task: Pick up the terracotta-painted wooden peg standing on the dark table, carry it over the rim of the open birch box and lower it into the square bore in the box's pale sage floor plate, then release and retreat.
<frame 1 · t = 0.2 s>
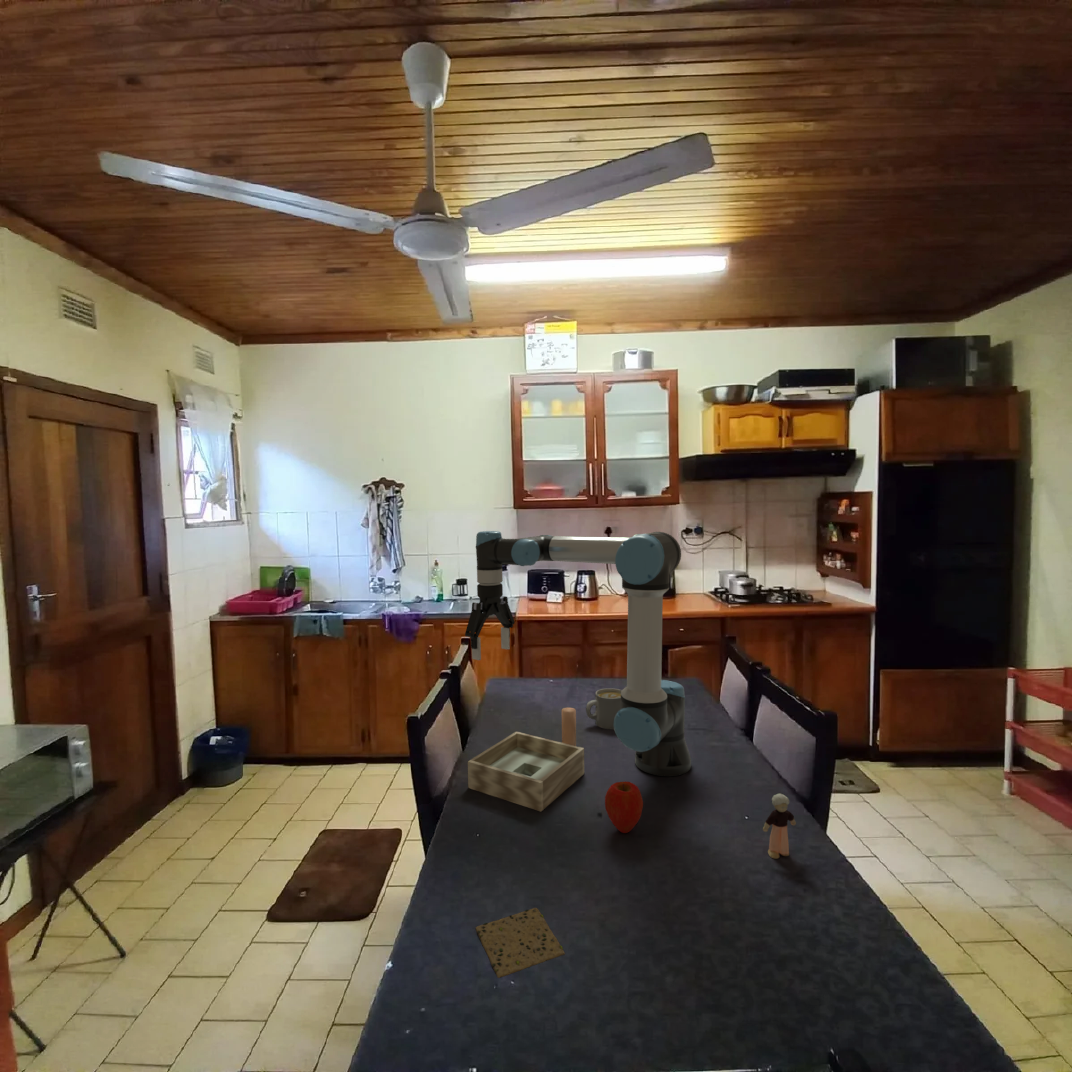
hand: (491, 654, 175), 28 cm above the table, fingers open, 13 cm apart
box: (527, 780, 154), on the table
coffee mug: (605, 724, 191), on the table
peg: (569, 758, 167), on the table
grandmother figurine: (780, 854, 122), on the table
cookie: (518, 944, 99), on the table
apple: (624, 831, 131), on the table
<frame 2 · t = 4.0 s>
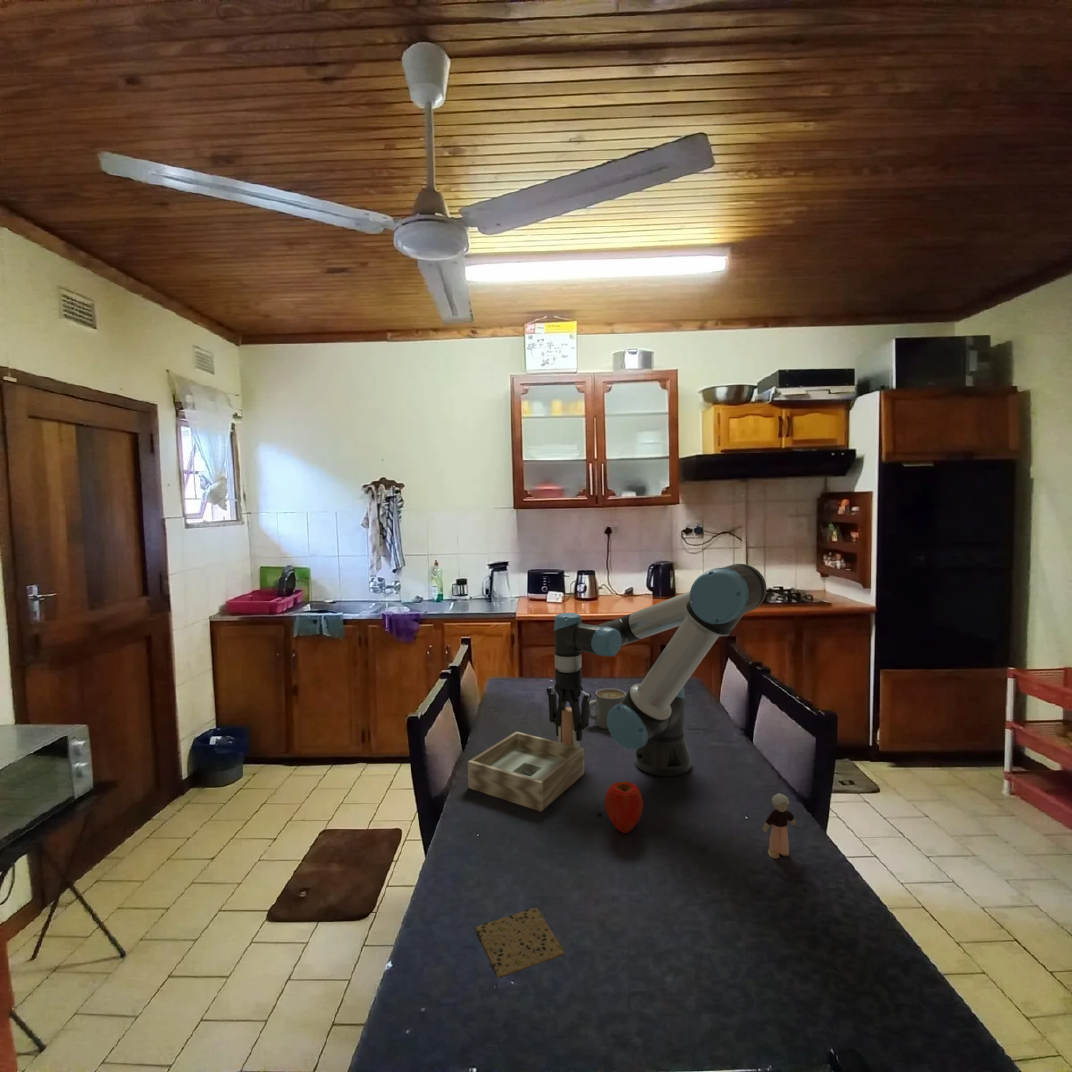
hand: (569, 749, 166), 3 cm above the table, fingers closed on peg, 4 cm apart
peg: (569, 758, 167), on the table, touching gripper
everything else where it was.
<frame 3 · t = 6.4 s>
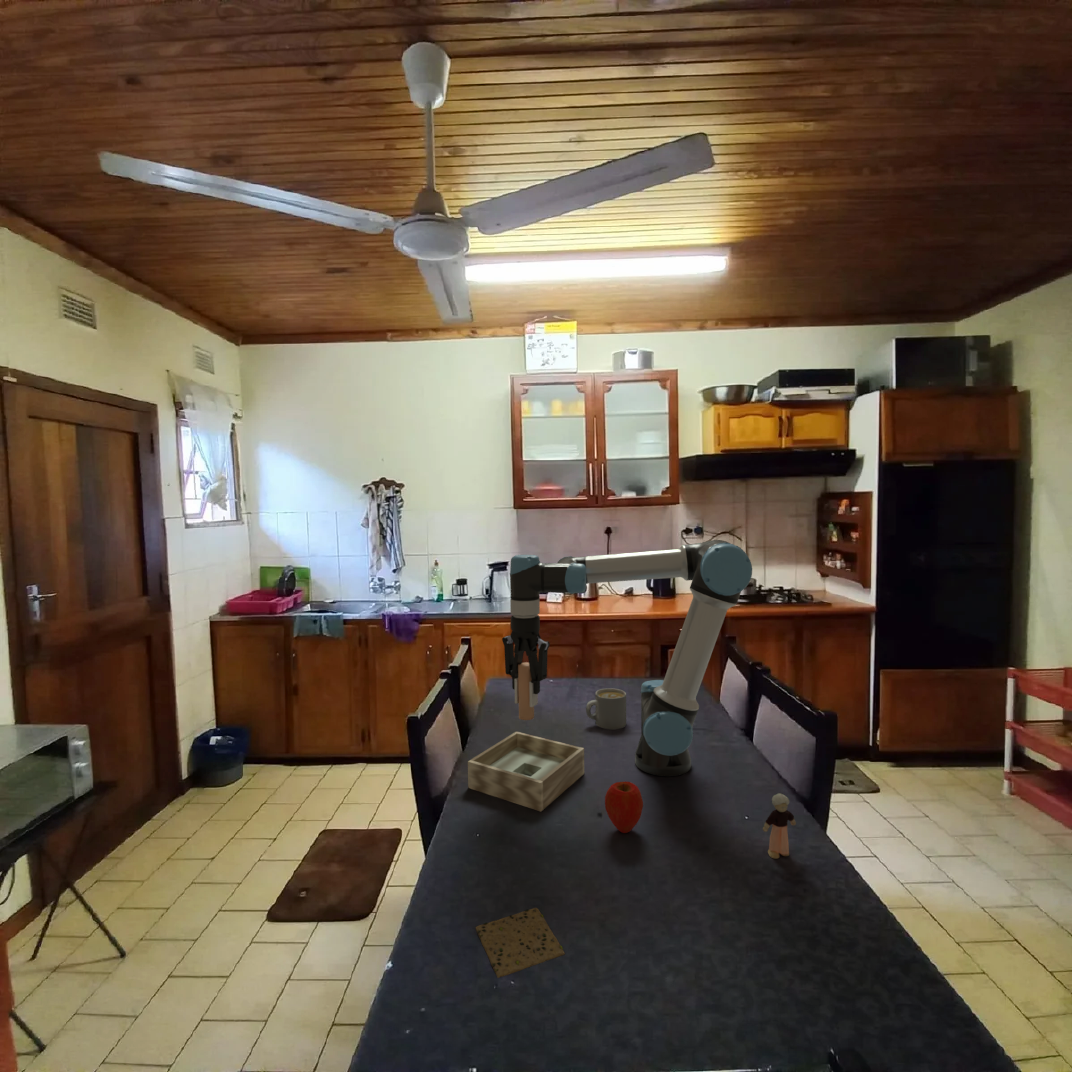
hand: (526, 703, 153), 21 cm above the table, fingers closed on peg, 4 cm apart
peg: (526, 717, 153), point 17 cm above the table, touching gripper
everything else where it was.
when the fingers open (4 cm above the table, at t = 9.2 s): peg stays where it is, resting in box.
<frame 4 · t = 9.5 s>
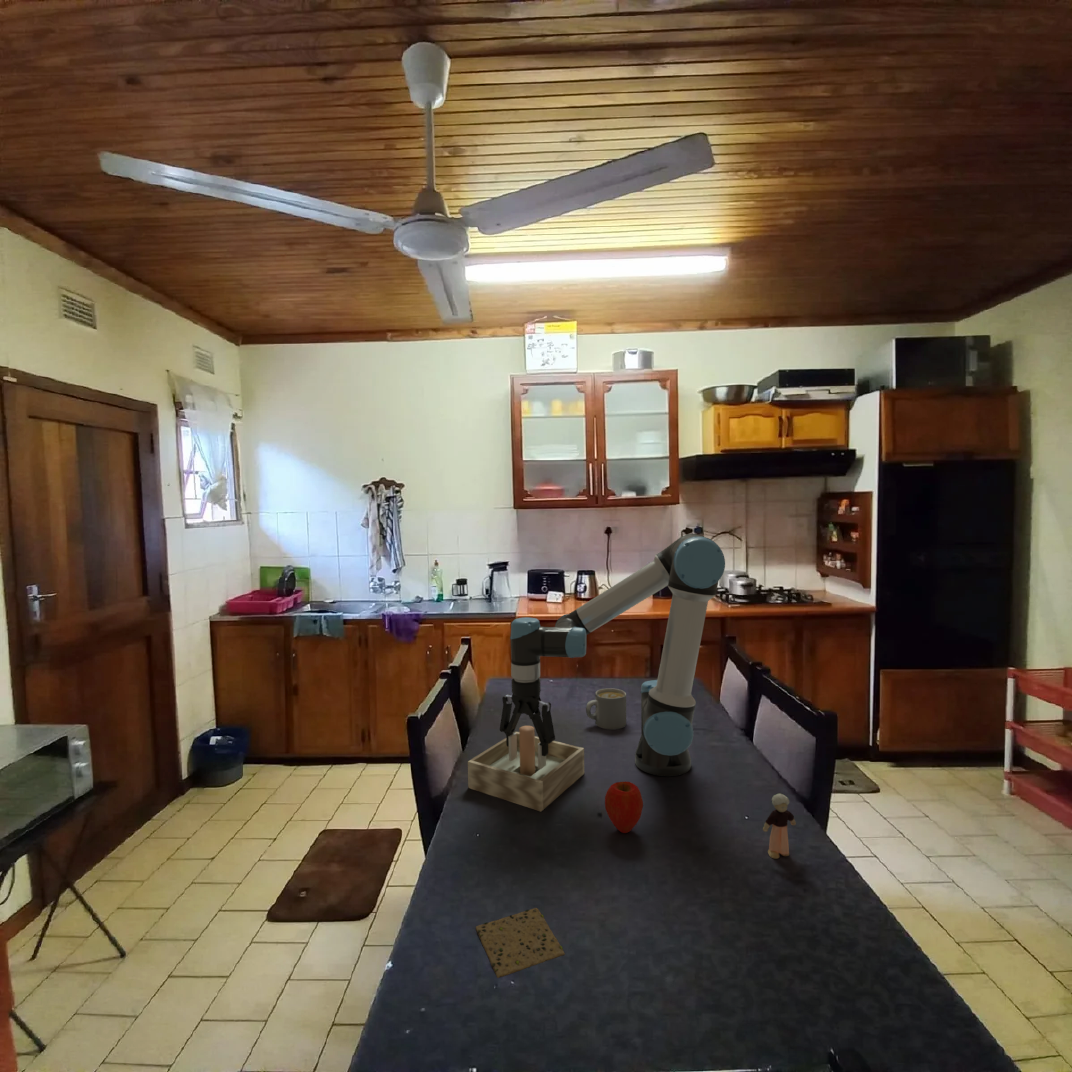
hand: (527, 762, 154), 5 cm above the table, fingers open, 8 cm apart
peg: (527, 780, 154), resting in box
everything else where it was.
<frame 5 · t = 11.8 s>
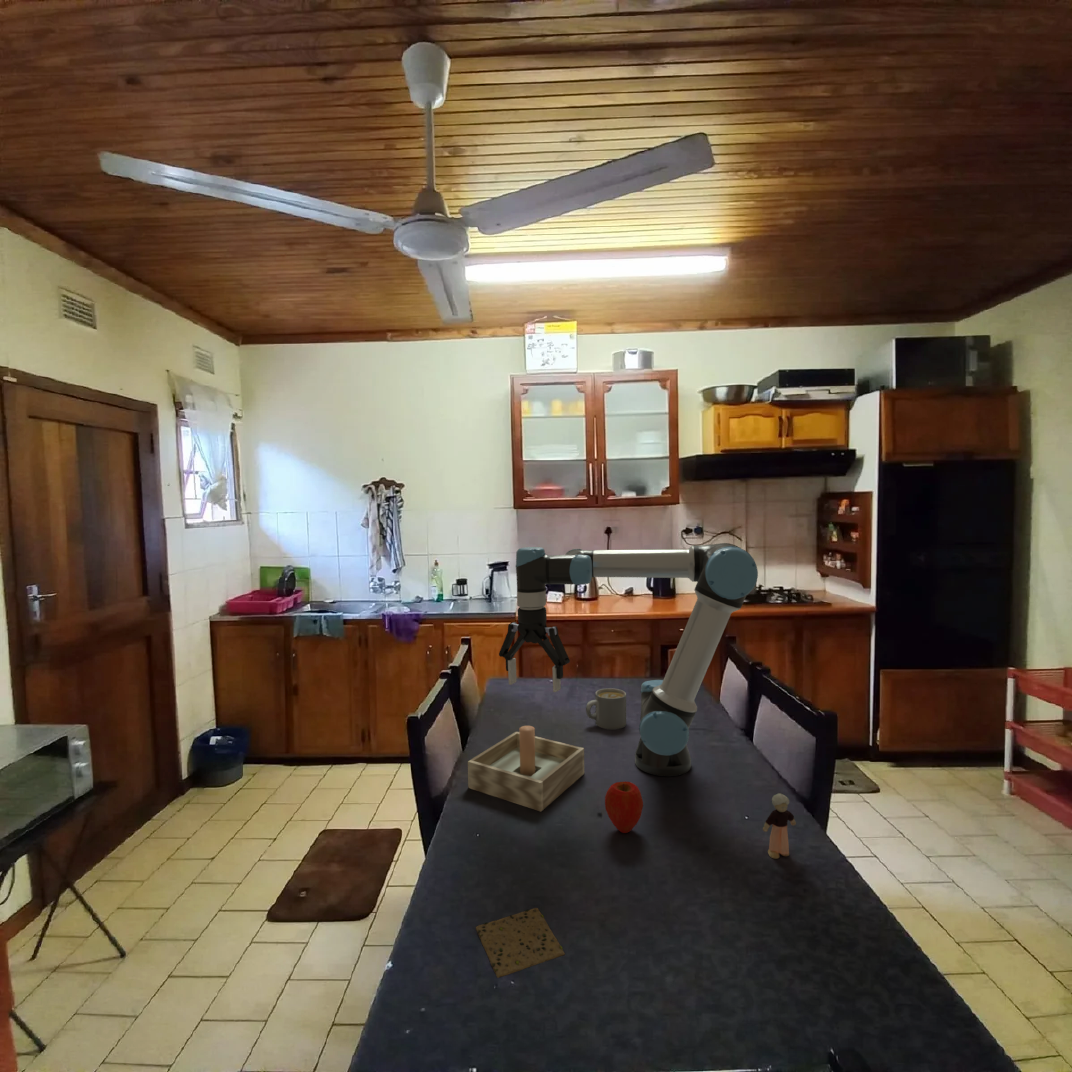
hand: (534, 686, 154), 25 cm above the table, fingers open, 13 cm apart
nothing on the table moved.
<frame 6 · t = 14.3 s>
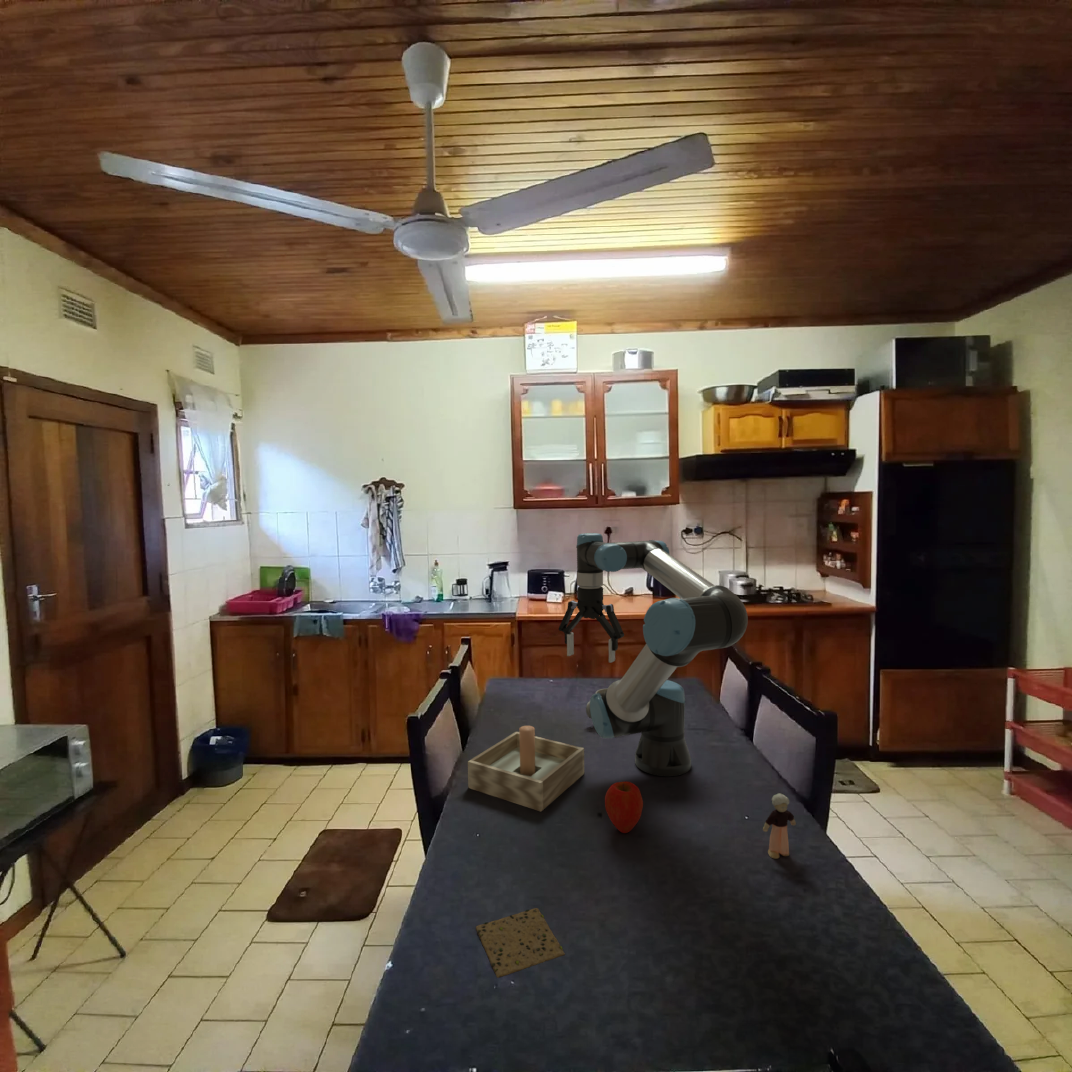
hand: (590, 658, 172), 27 cm above the table, fingers open, 13 cm apart
nothing on the table moved.
at the end: peg 0.1 cm off-centre on the box, point 0.0 cm above the box's base; peg tilted 0°; the gripper is holding nothing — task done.
